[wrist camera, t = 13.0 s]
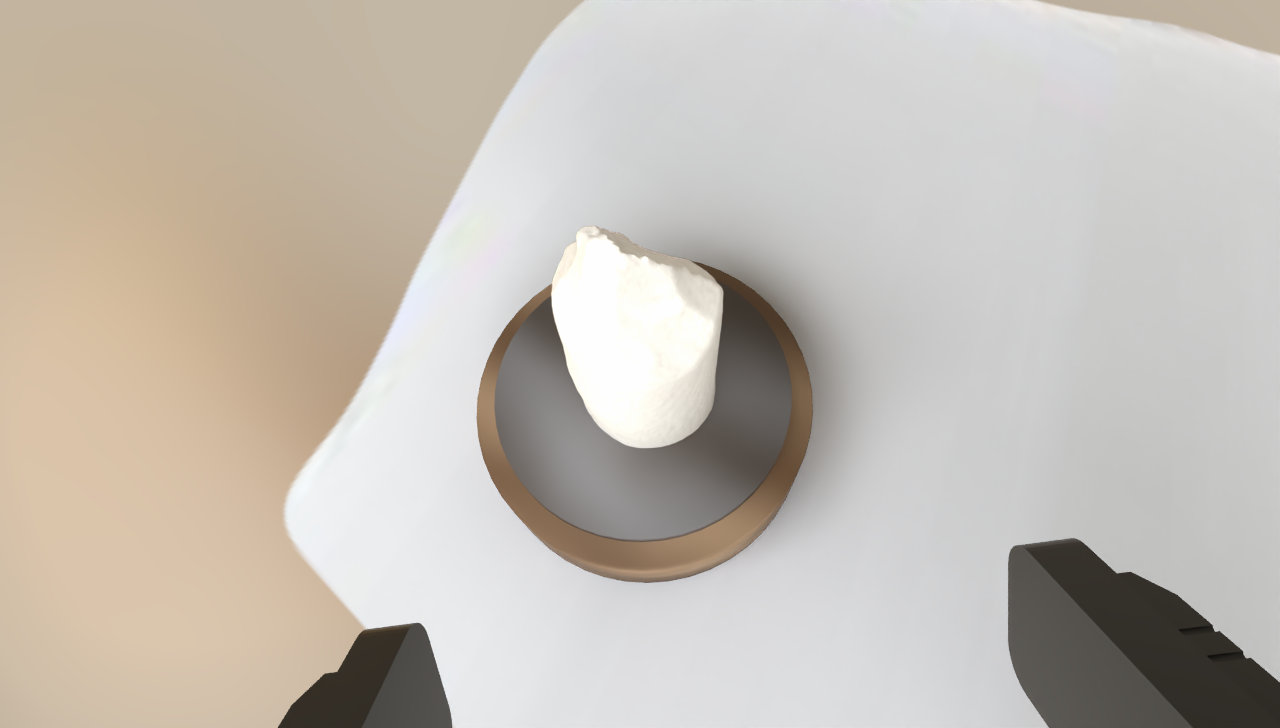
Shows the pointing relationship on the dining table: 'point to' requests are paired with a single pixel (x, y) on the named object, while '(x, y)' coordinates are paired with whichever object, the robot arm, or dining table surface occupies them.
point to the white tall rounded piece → (638, 336)
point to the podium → (647, 477)
